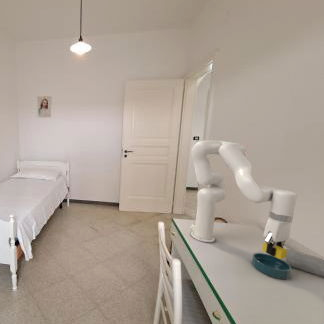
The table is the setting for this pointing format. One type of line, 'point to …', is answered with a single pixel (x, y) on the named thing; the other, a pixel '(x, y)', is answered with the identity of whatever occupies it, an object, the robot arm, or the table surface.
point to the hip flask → (306, 262)
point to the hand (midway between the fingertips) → (273, 253)
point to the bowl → (271, 265)
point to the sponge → (277, 251)
